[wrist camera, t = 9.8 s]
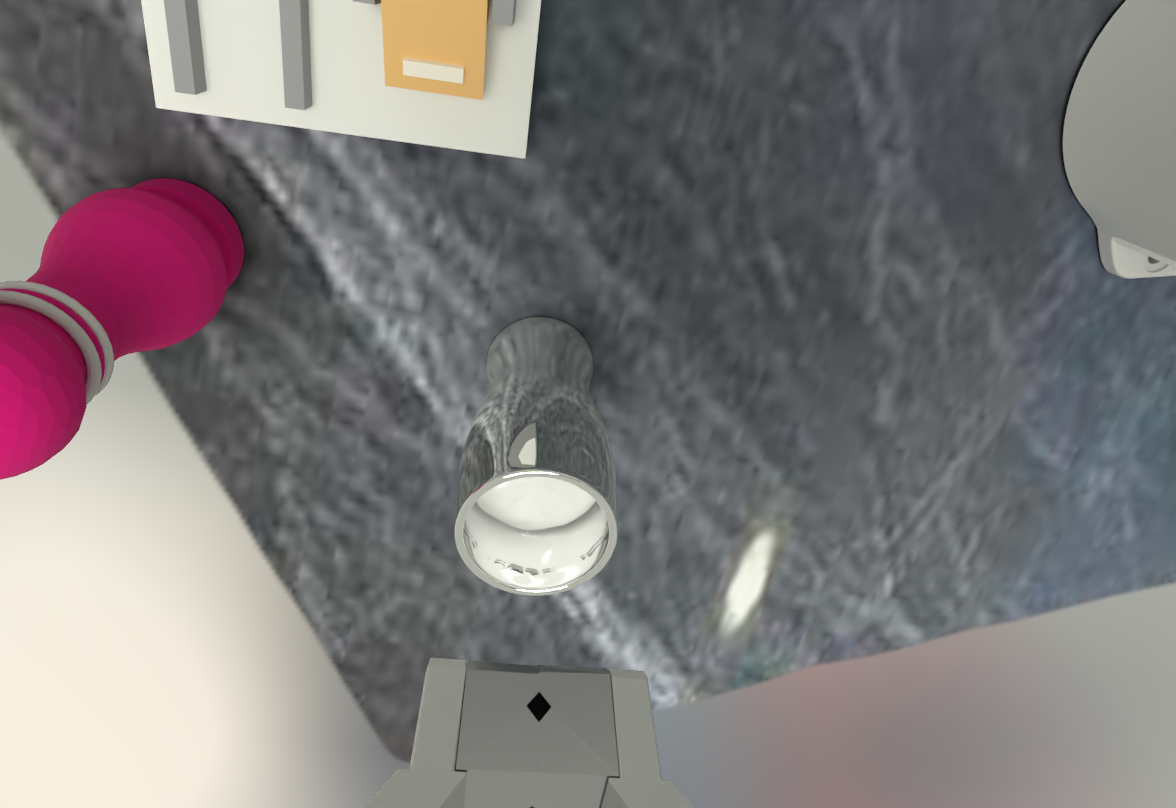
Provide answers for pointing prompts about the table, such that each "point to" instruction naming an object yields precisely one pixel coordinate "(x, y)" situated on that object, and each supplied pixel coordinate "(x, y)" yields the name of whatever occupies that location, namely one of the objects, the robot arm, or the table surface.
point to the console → (334, 71)
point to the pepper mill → (106, 304)
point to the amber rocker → (436, 45)
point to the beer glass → (537, 466)
